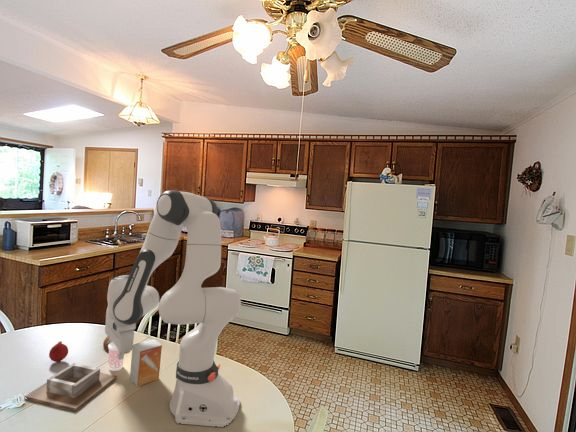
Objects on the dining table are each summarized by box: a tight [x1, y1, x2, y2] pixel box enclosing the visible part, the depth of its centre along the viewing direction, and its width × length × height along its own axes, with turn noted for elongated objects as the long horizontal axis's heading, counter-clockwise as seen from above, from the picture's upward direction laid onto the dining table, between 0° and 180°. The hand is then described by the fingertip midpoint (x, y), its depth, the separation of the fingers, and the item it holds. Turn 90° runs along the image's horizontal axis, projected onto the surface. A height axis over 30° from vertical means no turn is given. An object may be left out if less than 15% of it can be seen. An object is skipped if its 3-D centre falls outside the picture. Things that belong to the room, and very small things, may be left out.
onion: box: [48, 340, 69, 363], centre depth 121 cm, size 6×6×8 cm
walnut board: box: [24, 362, 117, 412], centre depth 107 cm, size 18×18×5 cm
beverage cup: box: [108, 342, 125, 372], centre depth 121 cm, size 6×6×14 cm
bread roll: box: [102, 335, 110, 352], centre depth 137 cm, size 10×10×8 cm
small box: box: [129, 338, 163, 388], centre depth 116 cm, size 8×6×13 cm
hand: (116, 353), depth 121 cm, fingers open, 7 cm apart
